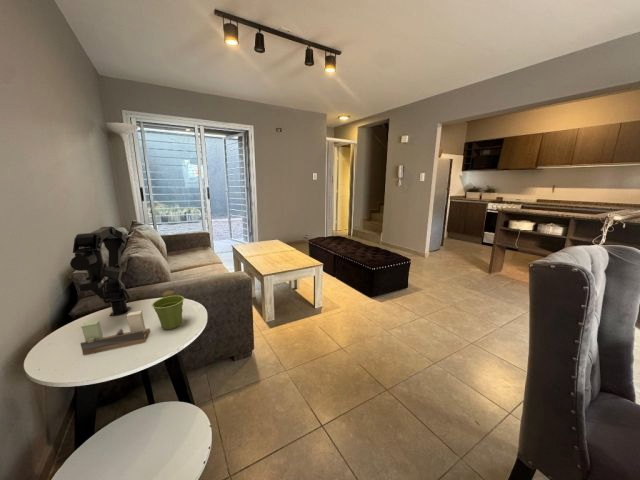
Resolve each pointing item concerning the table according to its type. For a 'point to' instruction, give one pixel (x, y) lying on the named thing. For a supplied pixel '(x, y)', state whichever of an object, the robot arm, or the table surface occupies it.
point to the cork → (169, 293)
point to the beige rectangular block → (136, 321)
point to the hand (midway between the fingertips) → (102, 298)
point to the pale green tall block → (92, 330)
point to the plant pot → (169, 311)
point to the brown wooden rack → (114, 341)
